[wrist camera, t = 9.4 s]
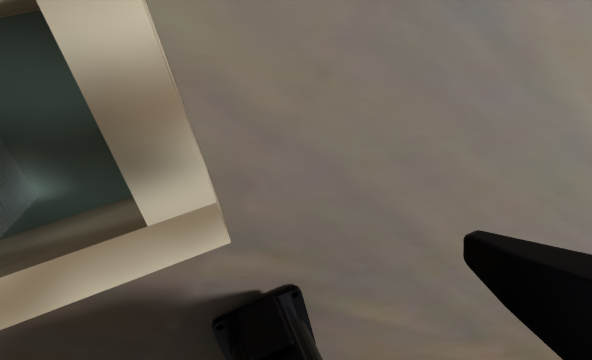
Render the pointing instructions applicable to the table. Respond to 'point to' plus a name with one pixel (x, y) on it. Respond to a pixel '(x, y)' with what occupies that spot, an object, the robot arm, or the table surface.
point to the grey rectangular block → (12, 190)
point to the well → (95, 154)
